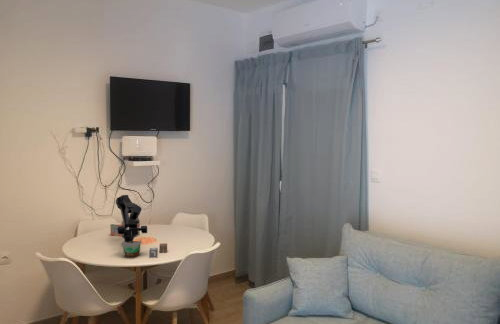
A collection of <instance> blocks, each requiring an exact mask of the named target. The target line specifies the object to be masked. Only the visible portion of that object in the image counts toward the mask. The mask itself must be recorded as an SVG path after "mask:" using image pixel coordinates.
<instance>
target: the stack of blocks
mask: <svg viewBox="0 0 500 324" xmlns="http://www.w3.org/2000/svg"><path fill="white" fill-rule="evenodd" d="M140 222H141V220H140V219H139V224H138V226H137V228H141V223H140ZM119 226H124V222H123V220H121V222H112V223H111V224H110V237H111V236H114V237H122V234H118V230H117V229H118V227H119ZM140 232H141V231H139V232H138V234H137V235H136V236H135V238H137V237H139V236H140Z"/></svg>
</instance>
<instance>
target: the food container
mask: <svg viewBox="0 0 500 324" xmlns="http://www.w3.org/2000/svg"><path fill="white" fill-rule="evenodd" d="M142 243H143V242H142V239H141V240H133V241H129V242H124V241H122V242H121V245H123V246H122V247H123V254H124V257H126V258H136V257H139V256H140V252H141V251H140V250H141V245H142Z"/></svg>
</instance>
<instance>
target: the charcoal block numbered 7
mask: <svg viewBox="0 0 500 324" xmlns="http://www.w3.org/2000/svg"><path fill="white" fill-rule="evenodd" d="M158 250H159V247H149V253H148V254H149V257H148V258H158V255H159V253H158Z"/></svg>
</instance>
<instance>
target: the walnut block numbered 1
mask: <svg viewBox="0 0 500 324" xmlns="http://www.w3.org/2000/svg"><path fill="white" fill-rule="evenodd" d="M158 250H159V253H158V254H165V253H166V254H167V253H168V243H166V242H165V243H164V242H163V243H159V247H158Z"/></svg>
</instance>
